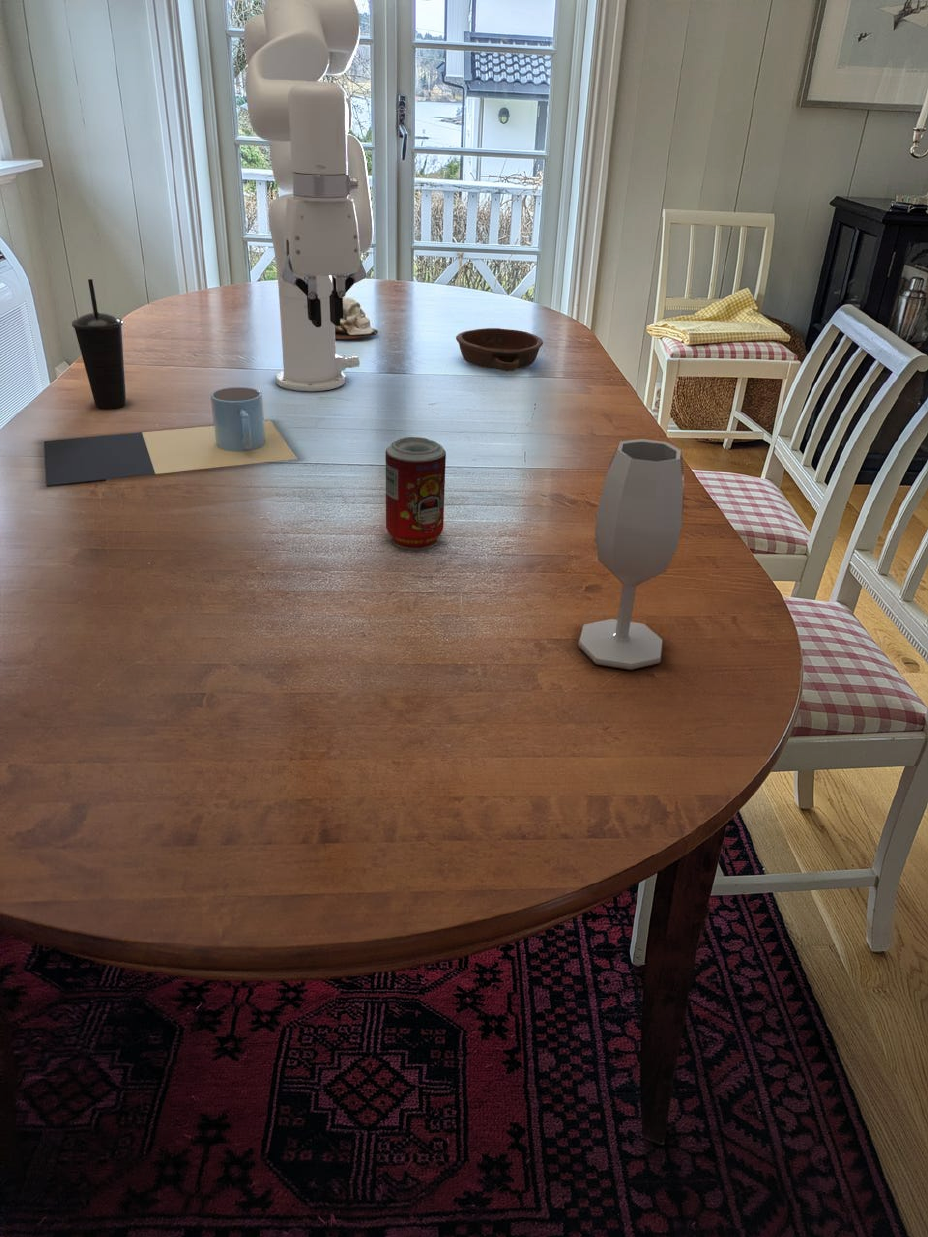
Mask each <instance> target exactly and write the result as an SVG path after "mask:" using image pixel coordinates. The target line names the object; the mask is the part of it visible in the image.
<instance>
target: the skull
mask: <svg viewBox="0 0 928 1237" xmlns="http://www.w3.org/2000/svg"><path fill="white" fill-rule="evenodd" d="M378 333H379V330H378V329H377V328H373V327H372V325H371V320H370V319H369V318H368V317H367V316H366V312H365V311H363V309H362V308H361V304H360V303H359V302H358V301H357V300H356V299H355V298H352V297H343V319H340V326H336V325H335V339H341V340H342V339H343V340H344V339H346V340H348V339H361V338H366V337H367V338H368V337H372V336H376V335H378Z"/></svg>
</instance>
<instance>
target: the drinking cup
mask: <svg viewBox="0 0 928 1237" xmlns="http://www.w3.org/2000/svg"><path fill="white" fill-rule="evenodd" d="M87 282H88V290H89V295H90V301H91V306H92V312H90V313H87V314H83V315H81V316H80V317H78V318H76V319H74V320H72V321H71V326H72V328H74V331H75V335H76V339H77V343H78V346H79V350H80V354H81V357H82V360H83V365H84V368H85V372H86V376H87V379H88V380H87V381H88V383H89V387H90V391H91V394H92V397H93V398H92V399H93V401H94V405H95V407H96V408H97V409H98V410H106V411H107V410H117V409H122V408H124V407H126V405H127V398H126V381H125V380H126V379H125V378H126V377H125V363H124V360H125V359H124V347H123V346H124V344H123V330H122V326H123V324H124V322H123V320H122V318H120V317H116V316H114V315H112V314H109V313H105V312H99V310H98V303H97V298H96V291H95V286H94V279H92V278H89V279H87Z"/></svg>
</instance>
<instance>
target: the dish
mask: <svg viewBox="0 0 928 1237" xmlns="http://www.w3.org/2000/svg"><path fill="white" fill-rule="evenodd" d="M455 340H456V342H457V343H458V344H459V345H458V346H459V350H460V352H461V355H462V358H463V360H464V361H465V362H466V363H468V364H470V365H473V366H475V367H476V366H477V367H479V368H484V369H491V370H499V371H503V372H514V371H515V370H519V369H520V370H521V369H524V368H527V367H529V366H531V365H532V364H533V363H534V362H535V361H536V359H537V357H538V354H539V351H540V348H541V347H542V346H543V345H544V341H543V339H542V338H541V337H540V336H538V335H537V334H533V333H530V332H528V331H523V330H518V329H508V328H500V327H486V328H476V329H470V330H465V331H462V332H460V333H458V334H457V335H456V337H455Z"/></svg>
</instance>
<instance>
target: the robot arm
mask: <svg viewBox="0 0 928 1237" xmlns="http://www.w3.org/2000/svg"><path fill="white" fill-rule="evenodd" d="M360 31H361V21H360V14H359V10H358V6H357V4H356V1H355V0H265V2H264V6H263V13H259V14H256V15H253V16H252V17H250V18H249V19H248V20H247V21H246V23H245V26H244V30H243V46H244V54H245V59H246V63H247V64H246V65H247V67H246V73H245V84H244V85H245V86H244V87H245V97H246V105H247V106H246V107H247V112H248V119H249V122H250V125H251V128H252V130H253V132H254V133H255V135H256V136H258V137H259V139H261V140H263V141H267V142H268V145H269V152H270V162H271V169H272V175H273V178H274V181H275V183H276V185H277V187H278V188H279V189H280V190H282V191H283V192H285V193H286V194H282V195H279V196H277V197H276V198H274V199H273V200H272V202H271V204H270V205H269V208H268V225H269V226H268V227H269V231H270V236H271V242H272V247H273V250H274V251H273V252H274V257H275V265H276V266H275V267H276V274H277V286H278V300H279V314H280V315H279V317H280V331H281V349H282V362H283V363H282V364H283V370H281V371H279V372H278V373H276V375H275V383H276V384H277V385H278V386H279V387H281V388H283V389H287V390H292V391H298V392H322V391H329V390H334V389H336V388H340V387H342V386H343V385H344V384H345V383H346V375H345V374H344V372H343V371H345V370H346V369H347V368H349V369H353V368H357V367H359V366H360V358H359V356H357V355H355V356H349V357H346V356H345V355H338V354H337V349H336V338H335V325H336V326H340V319H343V298H346V297H345V296H346V294H347V292H348V291H349V290H350V289H351V288H352V287H353V286H354V285H355V284H357V283H359V282H361V281H362V280H364V279H366V278H367V272H366V269H365V267H364V265H363V263H362V260H361V255H362V254H365V253H366V252H367V253H368V251H369V250H370V249H371V247H372V245H373V243H374V242H373V241H374V218H373V217H374V216H373V208H372V200H371V193H370V184H369V176H368V166H367V159H366V155H365V151H364V148H363V146H362V143H361V141H360V140H359V139H358V138H357V137H356V136H354V135H352V134H350V133H349V131H351V130H352V128H353V114H354V113H353V106H352V100H351V98H350V96H348V94H347V91H346V90H345V89H344V88H343V87H342V86H341V85H340V84H338V83H335V82H328V81H321V79H323V77H324V76H338V75H343V74H345V73H346V72H347V71H348V70H349V68H350V66H351V64H352V61H353V58H354V56H355V54H356V51H357V48H358V45H359V41H360V33H361V32H360Z"/></svg>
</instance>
